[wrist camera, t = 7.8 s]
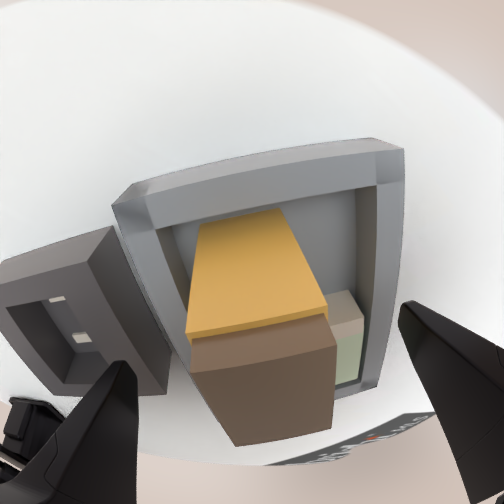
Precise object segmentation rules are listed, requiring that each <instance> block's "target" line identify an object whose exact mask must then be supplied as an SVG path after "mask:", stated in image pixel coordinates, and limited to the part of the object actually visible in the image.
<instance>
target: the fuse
mask: <svg viewBox="0 0 504 504" xmlns="http://www.w3.org/2000/svg"><path fill="white" fill-rule="evenodd" d="M324 298H325V300H326V302H327V304H328V324H329V326H330V328H331V331H332V333H333V336H334V338H335V340H336V343H337V363H336V380H335V385H337V384H340V383H344V382H347V381H351V380H354V379H357V378H358V371H359V365H360V358H361V350H362V342H363V334H364V316H363V314H362V312H361V311H360V309H359V307H358V305H357V304H356V302H355V300H354V298H353V297H352V295H351V293H350V292H349V290H344V291H340V292H336V293H332V294H328V295H324Z"/></svg>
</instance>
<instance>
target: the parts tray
mask: <svg viewBox="0 0 504 504" xmlns="http://www.w3.org/2000/svg"><path fill="white" fill-rule="evenodd" d="M404 186H405V169H404V148H401V147H398V146H395V145H392V144H389V143H387V142H384V141H381V140H378V139H374V138H362V139H352V140H343V141H335V142H327V143H319V144H312V145H305V146H298V147H292V148H286V149H280V150H274V151H268V152H263V153H257V154H252V155H247V156H242V157H237V158H232V159H227V160H223V161H218V162H214V163H209V164H205V165H201V166H197V167H193V168H189V169H185V170H181V171H177V172H173V173H169V174H165V175H162V176H158V177H155V178H151V179H147V180H144V181H141V182H137V183H134V184H132V185H131V186H130V187H129V188H128V189H127V190H126V191H125V192H124V193H123V194H122V195H121V196H120V197H119V198H118V199H117V200H116V201H115V202H114V203H113V204H112V205H111V206H112V209H113V212H114V214H115V217H116V220H117V222H118V225H119V228H120V230H121V233H122V235H123V238H124V241H125V243H126V246H127V248H128V250H129V253H130V255H131V258H132V260H133V262H134V265H135V267H136V269H137V272H138V274H139V276H140V279H141V281H142V283H143V285H144V287H145V290H146V292H147V294H148V296H149V298H150V300H151V303H152V305H153V307H154V309H155V311H156V313H157V315H158V317H159V319H160V321H161V323H162V325H163V327H164V329H165V331H166V333H167V335H168V337H169V339H170V341H171V342H172V344H173V346H174V348H175V350H176V352H177V354H178V356H179V357H180V359H181V361H182V363H183V365H184V366H185V368H186V370H187V372H188V373H189V375H190V377H191V379H192V380H193V378H192V376H191V374H190V363H191V349H192V347H191V344H190V342H189V340H188V338H187V336H186V334H185V331H186V322H187V313H188V305H189V297H190V289H191V281H192V274H193V267H194V259H195V253H196V246H197V239H198V233H199V227H200V224H203V223H207V222H212V221H216V220H221V219H226V218H230V217H235V216H240V215H245V214H250V213H255V212H260V211H265V210H270V209H275V208H280V209H281V211H282V213H283V215H284V217H285V219H286V221H287V223H288V225H289V227H290V229H291V231H292V233H293V235H294V237H295V239H296V241H297V243H298V245H299V247H300V249H301V251H302V253H303V255H304V257H305V259H306V261H307V263H308V265H309V267H310V269H311V271H312V273H313V275H314V277H315V279H316V281H317V283H318V285H319V288H320V290H321V292H322V294H323V296H324V295H328V294H332V293H336V292H340V291H344V290H349V292H350V293H351V295H352V297H353V298H354V300H355V302H356V304H357V305H358V307H359V309H360V311H361V312H362V314H363V316H364V334H363V342H362V350H361V358H360V365H359V371H358V378H357V379H354V380H351V381H347V382H344V383H340V384H337V385H335V394H334V400H336V399H339V398H343V397H346V396H350V395H353V394H356V393H359V392H363V391H366V390H369V389H372V388H375V387H377V384H378V380H379V376H380V372H381V368H382V364H383V360H384V356H385V351H386V347H387V342H388V337H389V332H390V327H391V322H392V316H393V310H394V304H395V298H396V291H397V283H398V276H399V267H400V258H401V247H402V235H403V218H404ZM193 382H194V384H195V385H196V383H195V381H194V380H193ZM196 387H197V385H196ZM197 389H198V390H199V388H198V387H197ZM199 392H200V390H199ZM200 394H201V395H202V393H201V392H200ZM202 397H203V395H202ZM203 399H204V400H205V398H204V397H203ZM205 402H206V400H205ZM206 404H207V405H208V403H207V402H206ZM208 407H209V405H208ZM209 408H210V407H209ZM210 410H211V408H210ZM211 412H212V413H213V411H212V410H211ZM213 415H214V413H213ZM214 416H215V415H214ZM215 418H216V416H215ZM216 419H217V418H216ZM217 421H218V419H217ZM218 422H219V421H218Z"/></svg>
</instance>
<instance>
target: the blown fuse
mask: <svg viewBox="0 0 504 504" xmlns="http://www.w3.org/2000/svg"><path fill="white" fill-rule="evenodd" d="M185 334H186V336H187V338H188V340H189V342H190V344H191V347H192V349H191V363H190V374H191V376H192V378H193V380H194V381H195V383H196V385H197V387H198V388H199V390H200V392H201V393H202V395H203V397H204V398H205V400H206V402H207V403H208V405H209V407H210V408H211V410H212V411H213V413H214V415H215V416H216V418H217V419H218V421H219V423H220V424H221V426H222V427H223V429H224V430H225V432H226V433H227V435H228V436H229V438H230V439H231V441H232V442H233V444H234V445H235V447H238V446H246V445H253V444H260V443H266V442H272V441H278V440H283V439H288V438H293V437H298V436H302V435H307V434H311V433H315V432H319V431H323V430H327V429H331V427H332V417H333V406H334V394H335V380H336V363H337V343H336V340H335V338H334V336H333V333H332V331H331V328H330V326H329V324H328V304H327V302H326V300H325V298H324V296H323V294H322V292H321V290H320V288H319V285H318V283H317V281H316V279H315V277H314V275H313V273H312V271H311V269H310V267H309V265H308V263H307V261H306V259H305V257H304V255H303V253H302V251H301V249H300V247H299V245H298V243H297V241H296V239H295V237H294V235H293V233H292V231H291V229H290V227H289V225H288V223H287V221H286V219H285V217H284V215H283V213H282V211H281V209H280V208H275V209H270V210H265V211H260V212H255V213H250V214H245V215H240V216H235V217H230V218H226V219H221V220H216V221H212V222H207V223H203V224H200V227H199V233H198V239H197V246H196V253H195V259H194V267H193V274H192V281H191V289H190V297H189V305H188V313H187V322H186V331H185Z"/></svg>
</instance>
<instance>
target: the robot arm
mask: <svg viewBox="0 0 504 504" xmlns="http://www.w3.org/2000/svg"><path fill="white" fill-rule="evenodd" d="M398 327H399V330H400V333H401V335H402V338H403V340H404V343H405V345H406V348H407V351H408V353H409V356H410V359H411V361H412V364H413V366H414V368H415V370H416V372H417V374H418V376H419V378H420V380H421V382H422V384H423V387H424V389H425V391H426V393H427V395H428V397H429V399H430V401H431V403H432V406H433V408H434V410H435V412H436V415H437V417H438V419H439V421H440V424H441V426H442V428H443V431H444V433H445V435H446V438H447V440H448V443H449V445H450V447H451V450H452V453H453V455H454V458H455V460H456V463H457V466H458V469H459V472H460V474H461V477H462V480H463V483H464V486H465V489H466V492H467V495H468V498H469V501H470V504H477V503H479V502H481V501H484V500H486V499H488V498H490V497H492V496H494V495H496V494H498V493H500V492H501V491H503V490H504V349H503V348H501V347H499V346H498V345H497V346H496V345H495V344H494V343H492V342H490V341H488V340H487V339H485V338H483V337H481V336H479V335H478V334H476V333H474V332H472V331H470V330H468V329H467V328H465V327H463V326H461V325H459V324H457V323H455V322H454V321H452V320H450V319H448V318H446V317H444V316H442V315H441V314H439V313H437V312H435V311H433V310H431V309H429V308H427V307H425V306H423V305H421V304H420V303H418V302H416V301H413V300H411V301H408V302H405V303H403V304H402V305H401V307H400V313H399V318H398ZM9 402H10V403H11V404H12V405H13V406H12V408H11V411H10V413H9V416H8V419H7V422H6V424H5V427H4V431H3V432H4V434H5V438H4V441H3V444H0V457H2V458H3V459H5V460H6V461H8V462H10V463H11V464H13V465H15V466H16V467H18V468H20V469H22V471H19V470H17V469H15V468H14V467H12V466H10V465H9V464H7V463H5V462H2V461H0V504H137V503H136V502H137V501H136V475H137V471H136V470H137V444H138V427H139V407H138V378H137V375H136V374H135V372H134V371H133V369H132V368H131V367H130V365H129V364H128V362H127V361H125V360H116V361H113V362H112V363H111V365H110V366H109V367H108V368H107V369H106V371H105V372H104V373H103V374H102V375H101V376H100V378H99V379H98V380H97V381H96V382H95V384H94V385H93V386H92V387H91V388H90V390H89V391H88V392H87V393H86V395H85V396H84V397H83V398H82V399H81V401H80V402H79V403H78V404H77V406H76V407H75V408H74V409H73V410H72V412H71V413H70V414H69V415H68V417H67V418H66V419H64V418H63V417H62V416H61V415H60V414H59V413H58V412H57V411H55V410H54V409H53V408H52V407H51V406H50V405H49V404H47V403H45V402H38V401H30V400H23V399H16V398H10V400H9ZM495 504H504V493H503V494H502V495H500V496H499V497H498V498H497V500H496V503H495Z"/></svg>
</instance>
